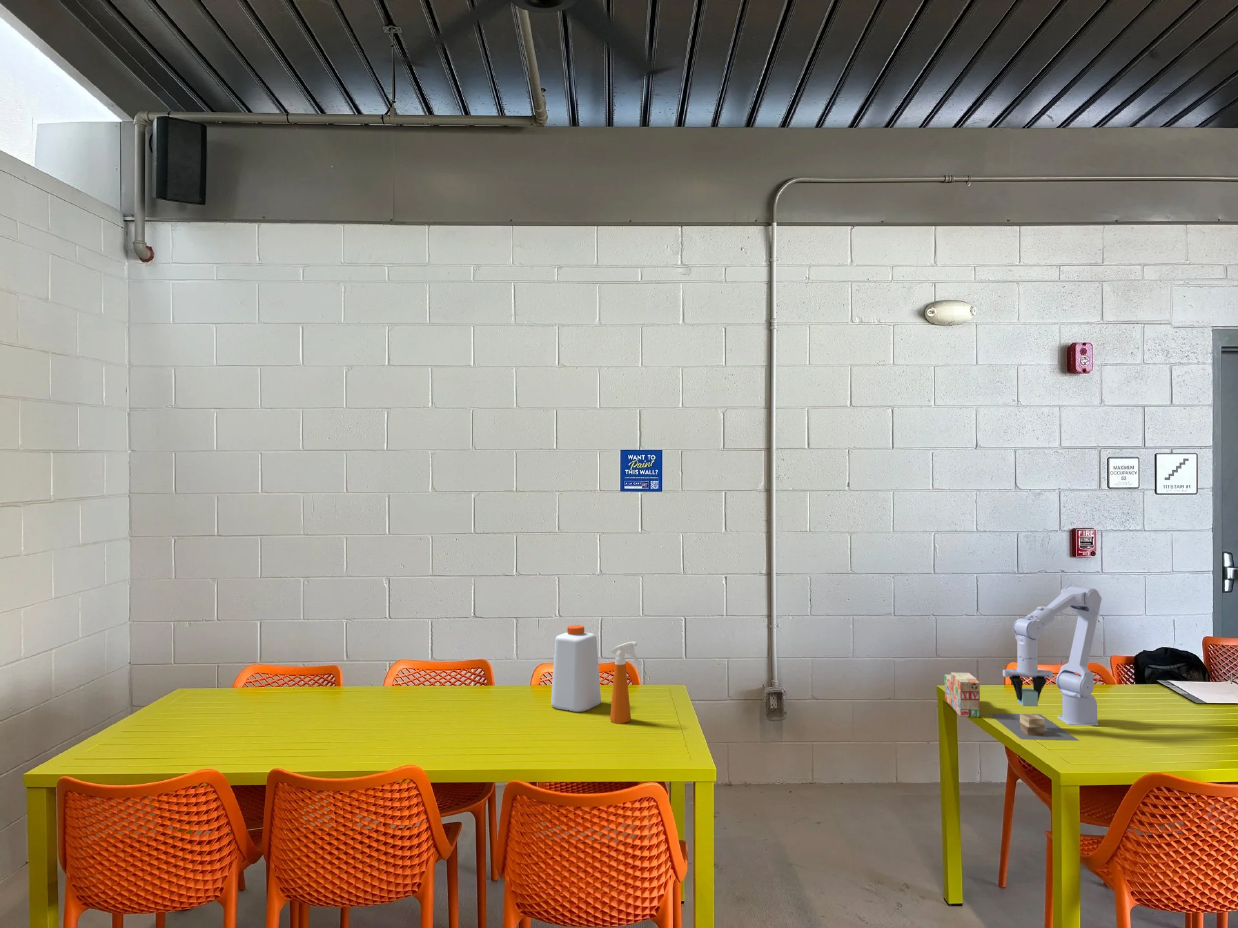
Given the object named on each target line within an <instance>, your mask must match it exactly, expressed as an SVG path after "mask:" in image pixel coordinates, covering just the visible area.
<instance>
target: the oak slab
mask: <svg viewBox="0 0 1238 928" xmlns="http://www.w3.org/2000/svg"><path fill="white" fill-rule="evenodd" d="M1019 714H1020V723H1022V724H1024V725H1026V726H1028V727H1045V719H1044V718H1042V717H1040V716H1038V715H1036V714H1035V713H1019Z"/></svg>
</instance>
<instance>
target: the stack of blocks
mask: <svg viewBox="0 0 1238 928" xmlns="http://www.w3.org/2000/svg"><path fill="white" fill-rule="evenodd" d="M943 677H944V678H943V682H944V700H945V701H946V702H947V703H948V705H950V706H951V707H952V708H953V710H954V711H955V712H956V713H957V715H958V716H959V717H964V718H966V717H967V718H980V717H981V716H980V715H981V710H980V708H981V707H980V705H981V704H980V699H981V692H980V691H981V689H980V688H981V684H980V683H981V682H980V681H979V680H978V679H977V678H976V677H975V676H973V675H972V674H971V673H970V672H954V671H953V672H950V674H944V676H943Z"/></svg>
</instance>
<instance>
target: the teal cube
mask: <svg viewBox="0 0 1238 928" xmlns="http://www.w3.org/2000/svg"><path fill="white" fill-rule="evenodd" d="M1016 700H1017V701H1016V702H1017V703H1018V704H1019V705H1020V706H1022V707H1036V708H1037V707H1039V701H1038V692H1037V691H1035V690H1033V688H1032V687H1031V688H1028V687H1026V688H1025V687H1022V700H1018V699H1017V698H1016Z"/></svg>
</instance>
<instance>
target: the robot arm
mask: <svg viewBox="0 0 1238 928" xmlns="http://www.w3.org/2000/svg"><path fill="white" fill-rule="evenodd" d="M1102 600H1103V599H1102V596H1101V595H1100V593H1099V591H1098V590H1097V589H1096V588H1089V587H1081V586H1075V585H1072V584H1071V585H1070V584H1069V585H1066V586H1065V587H1064V588H1062V589H1060V594H1059V595H1058V596H1057V597H1056V598H1055V599H1053V600H1052V601H1051V602H1050V603H1049V604H1048V605H1047V606H1044V605H1043V606H1037V607H1036V609H1034V611H1032V612H1031V613H1029V614H1027V615H1026V616H1025V617H1024V618H1022V617H1021V618H1018V619H1016V620H1015V621H1014V622H1013V626H1012V627H1011V630H1012V631H1013V632H1012V633H1014V636H1015V640H1016V645H1017V647H1016V648H1017V650H1016V651H1017V654H1016V655H1017V658H1016V659H1017V663H1016V664H1017V665H1016V666H1017V667H1016V668H1010V669H1002V677H1004V678H1009V680H1010V681H1011V684H1012V687H1013V688H1014V691H1015V696H1016V700H1017V699H1018V700H1022V688H1023V684H1024V683H1023V682H1024V680H1023V679H1022V678H1031V679H1032V687H1033V688H1032V689H1033V690H1035V691H1037V692H1038V702H1039V700H1040V697H1041V693H1042V690H1043V689H1044V687H1045V685H1046V684H1047V679H1046V678H1049V679H1053V678H1054V677H1053V676H1054V672H1053V671H1051V670H1044V669H1043V670H1042V669H1038V665H1039V663H1038V639H1039V638H1040V637H1041V635H1042V633H1043V631H1044V629H1045V628H1046V627H1048V626H1049V625H1050V624H1052V623H1053V622H1054V621H1055V618H1056V615H1058V614H1060V613H1062V611H1064V610H1066V609H1068V608H1070V609H1071V610H1072V611H1074V612H1075V614H1076V615H1077V621H1076V625H1075V629H1074V634H1073V640H1072V646H1071V650H1070V653H1069V659H1068V662H1067V663H1065V664H1063V665H1062V666H1060V670H1059V672H1058V674H1057V675H1056V678H1055V683H1056V686H1057V688H1058V689H1059V692H1060V693H1061V696H1062V697H1061V698H1062V699H1061V700H1062V702H1061V703H1062V704H1061V705H1062V715H1057V719H1059V720H1060V721H1062V722H1064V723H1066V724H1067V725H1068V726H1069V725H1070V726H1099V725H1100V724H1099V723H1098V702H1097V699H1096V697H1094V695H1092V693H1093V692H1094V689H1095V685H1094V678H1095V675H1094V673H1092V672H1091V670H1090V669H1089V668H1088V666H1089V660H1090V656H1091V650H1092V645H1093V642H1094V641H1093V640H1094V636H1095V633H1096V632H1095V631H1096V626H1097V623H1098V617H1099V612H1100V608H1101V604H1102V603H1101V602H1102Z"/></svg>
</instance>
